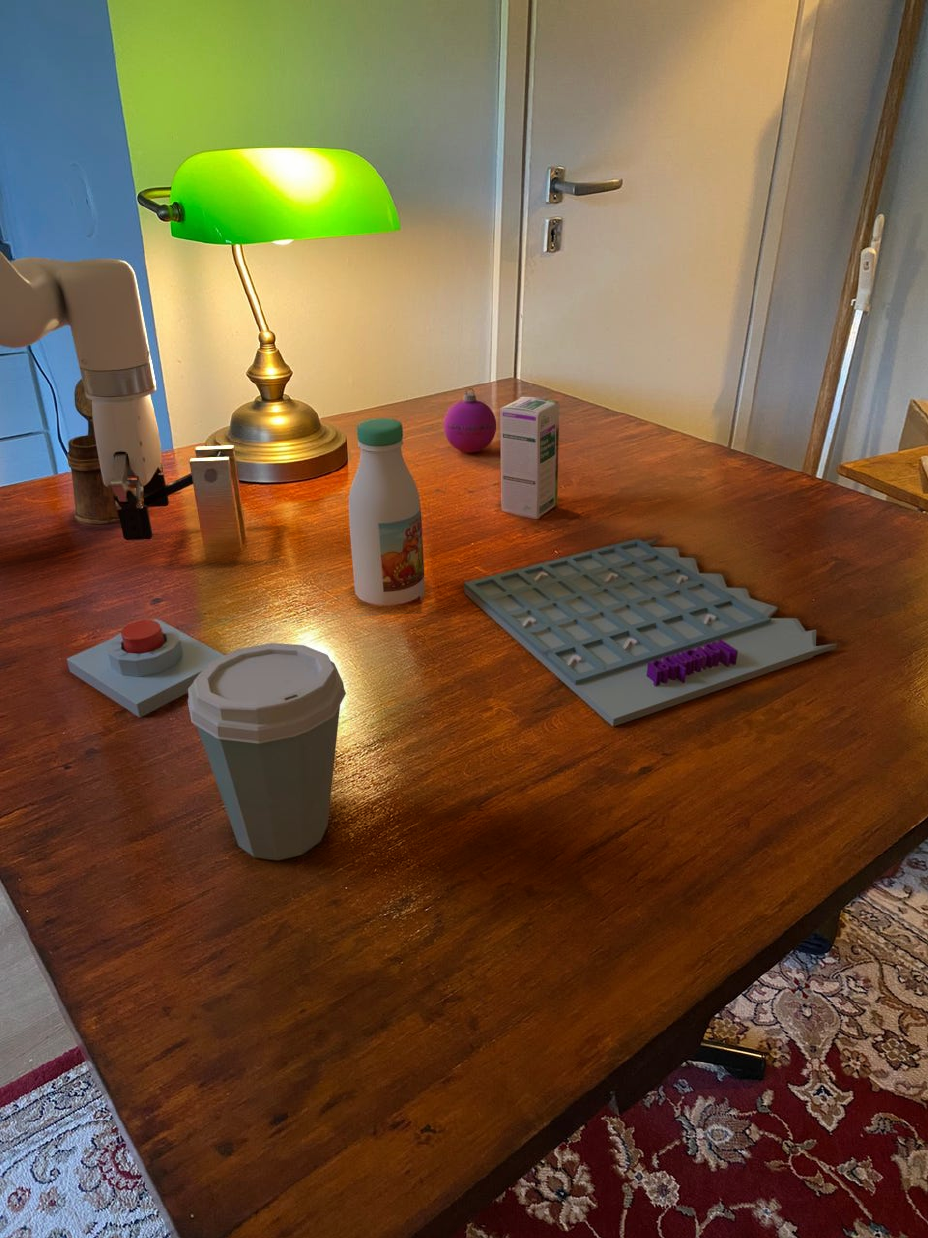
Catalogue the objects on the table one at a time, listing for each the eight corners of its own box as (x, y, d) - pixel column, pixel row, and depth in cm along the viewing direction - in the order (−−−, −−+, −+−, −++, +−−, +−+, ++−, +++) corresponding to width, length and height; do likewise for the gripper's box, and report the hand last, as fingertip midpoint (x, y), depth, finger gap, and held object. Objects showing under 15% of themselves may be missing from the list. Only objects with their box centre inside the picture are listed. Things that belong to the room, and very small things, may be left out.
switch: (136, 522, 106) (124, 505, 105) (146, 505, 111) (134, 489, 110) (227, 479, 105) (216, 461, 104) (232, 464, 109) (222, 446, 108)
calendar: (659, 543, 113) (661, 525, 112) (838, 648, 91) (842, 627, 89) (463, 593, 102) (463, 574, 101) (611, 727, 80) (613, 704, 79)
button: (117, 646, 86) (113, 630, 85) (150, 631, 88) (146, 615, 87) (138, 659, 84) (135, 643, 83) (171, 643, 86) (168, 627, 85)
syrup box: (538, 520, 119) (541, 412, 112) (499, 511, 122) (499, 405, 115) (557, 505, 123) (561, 400, 116) (519, 497, 126) (521, 394, 119)
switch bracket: (170, 573, 107) (150, 470, 101) (185, 538, 116) (167, 441, 110) (272, 568, 108) (259, 465, 102) (280, 533, 117) (268, 437, 110)
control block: (71, 677, 88) (61, 642, 86) (160, 636, 95) (153, 602, 93) (141, 724, 81) (132, 687, 79) (232, 676, 88) (226, 640, 86)
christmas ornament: (444, 460, 139) (442, 395, 135) (444, 442, 147) (443, 381, 142) (497, 459, 139) (497, 395, 135) (495, 442, 147) (495, 380, 142)
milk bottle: (357, 618, 97) (342, 438, 87) (353, 585, 104) (339, 414, 94) (429, 611, 98) (422, 432, 88) (420, 579, 105) (413, 409, 95)
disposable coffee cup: (193, 824, 70) (158, 659, 62) (318, 771, 75) (300, 613, 68) (249, 910, 62) (217, 735, 55) (384, 845, 68) (371, 677, 60)
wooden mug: (157, 493, 129) (133, 366, 120) (138, 532, 118) (110, 394, 109) (93, 496, 128) (63, 369, 120) (67, 536, 117) (32, 397, 108)
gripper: (104, 361, 108) (132, 495, 116) (61, 403, 93) (97, 554, 101) (168, 358, 108) (191, 493, 117) (136, 400, 93) (165, 551, 102)
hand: (147, 521), depth 109 cm, fingers open, 9 cm apart
